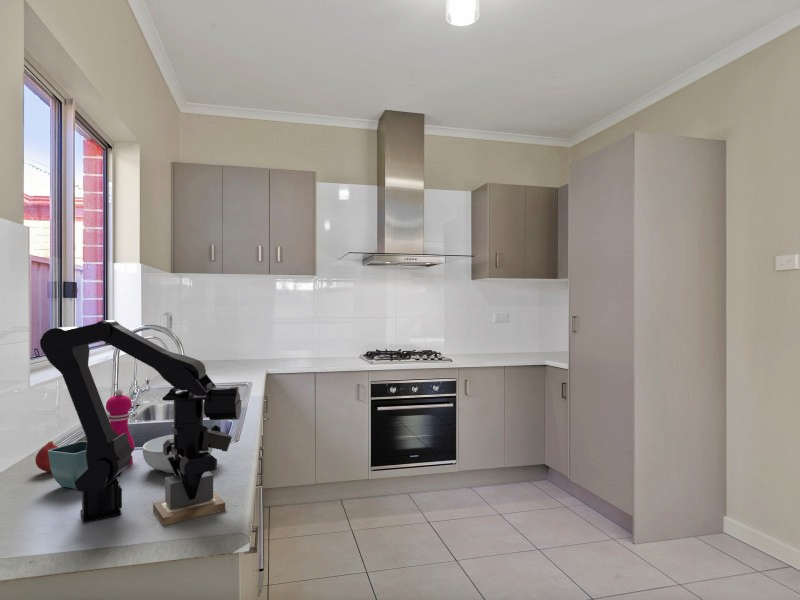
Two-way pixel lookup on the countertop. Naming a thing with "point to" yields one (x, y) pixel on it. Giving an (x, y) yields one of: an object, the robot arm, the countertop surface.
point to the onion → (44, 457)
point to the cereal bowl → (160, 454)
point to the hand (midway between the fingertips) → (188, 495)
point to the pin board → (187, 510)
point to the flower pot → (68, 463)
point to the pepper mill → (120, 415)
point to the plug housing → (178, 495)
